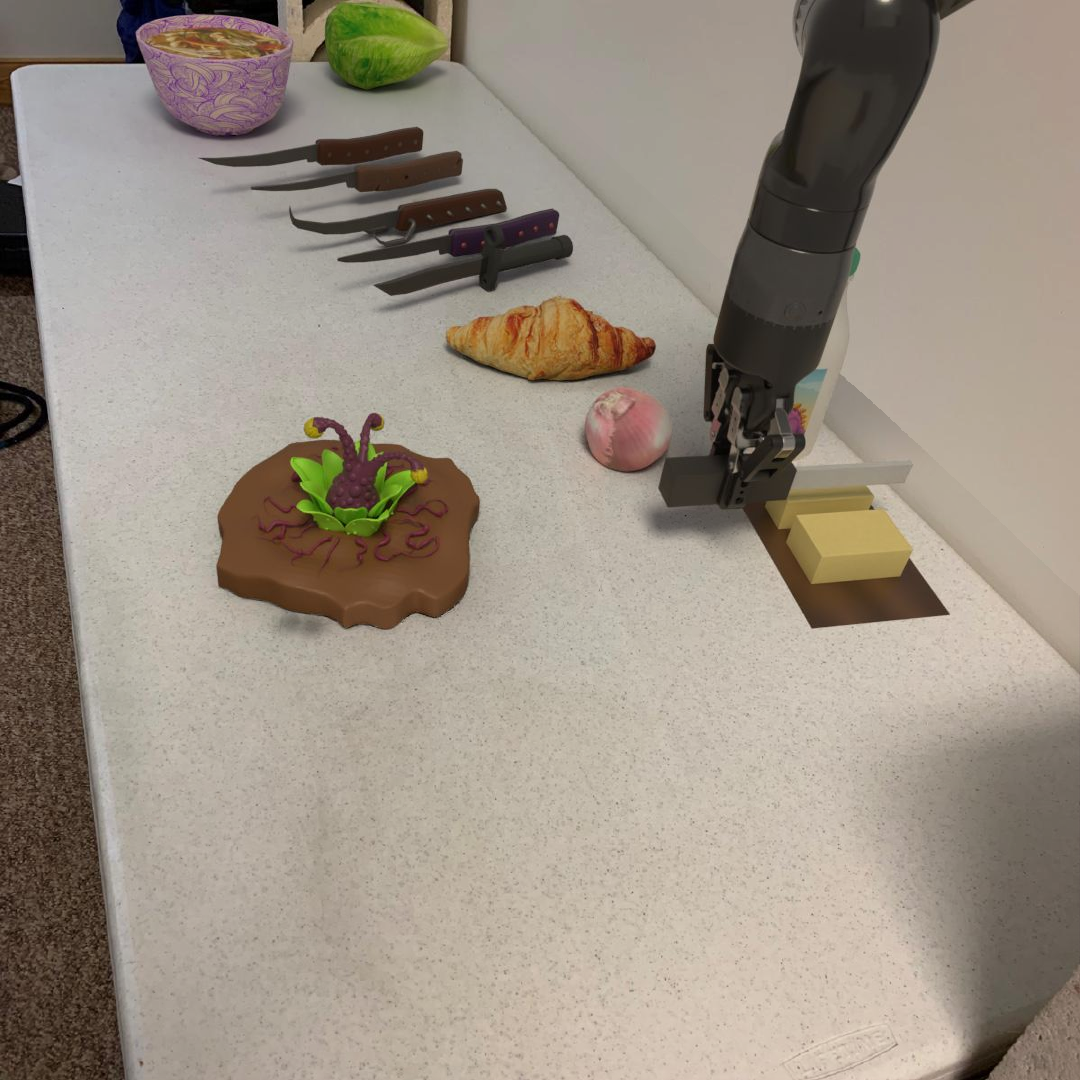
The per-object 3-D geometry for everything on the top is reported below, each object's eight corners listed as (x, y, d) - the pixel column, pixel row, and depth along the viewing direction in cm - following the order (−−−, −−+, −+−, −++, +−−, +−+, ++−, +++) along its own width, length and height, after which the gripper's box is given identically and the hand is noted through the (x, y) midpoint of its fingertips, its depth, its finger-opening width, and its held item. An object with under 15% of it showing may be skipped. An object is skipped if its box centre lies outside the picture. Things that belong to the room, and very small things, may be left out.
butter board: (845, 481, 91) (848, 472, 90) (945, 623, 78) (950, 614, 78) (724, 488, 88) (726, 479, 88) (808, 637, 75) (811, 628, 75)
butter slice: (847, 501, 87) (858, 474, 85) (863, 523, 85) (874, 496, 83) (764, 506, 85) (773, 479, 83) (778, 529, 83) (787, 502, 81)
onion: (567, 439, 91) (577, 372, 87) (642, 428, 94) (656, 363, 89) (601, 492, 86) (614, 424, 81) (680, 479, 89) (697, 413, 84)
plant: (261, 446, 86) (250, 332, 78) (486, 474, 86) (497, 363, 79) (185, 611, 71) (162, 488, 63) (458, 644, 71) (467, 526, 64)
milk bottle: (765, 412, 98) (825, 219, 85) (826, 452, 94) (899, 256, 81) (713, 437, 94) (767, 237, 81) (775, 479, 90) (843, 277, 77)
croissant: (443, 396, 100) (443, 355, 93) (446, 311, 104) (447, 265, 96) (649, 406, 102) (666, 366, 95) (646, 322, 106) (662, 277, 98)
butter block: (871, 535, 84) (883, 508, 82) (900, 576, 80) (913, 549, 78) (785, 542, 82) (795, 514, 80) (810, 584, 78) (822, 556, 76)
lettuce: (463, 96, 159) (467, 14, 151) (341, 102, 151) (339, 16, 143) (430, 68, 168) (432, -11, 160) (313, 72, 159) (310, -10, 151)
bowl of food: (156, 97, 144) (143, 9, 136) (297, 104, 148) (293, 19, 140) (140, 149, 130) (126, 55, 122) (298, 155, 134) (293, 64, 126)
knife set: (196, 195, 118) (192, 129, 113) (419, 162, 138) (424, 104, 133) (362, 331, 101) (366, 260, 96) (591, 271, 120) (604, 209, 115)
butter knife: (895, 474, 82) (908, 445, 80) (909, 492, 81) (923, 463, 79) (657, 488, 77) (665, 457, 75) (667, 507, 76) (675, 476, 74)
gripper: (881, 346, 62) (802, 550, 74) (792, 246, 72) (734, 439, 84) (772, 349, 60) (708, 557, 72) (695, 246, 70) (650, 443, 82)
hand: (723, 493), depth 78 cm, fingers closed on butter knife, 2 cm apart
